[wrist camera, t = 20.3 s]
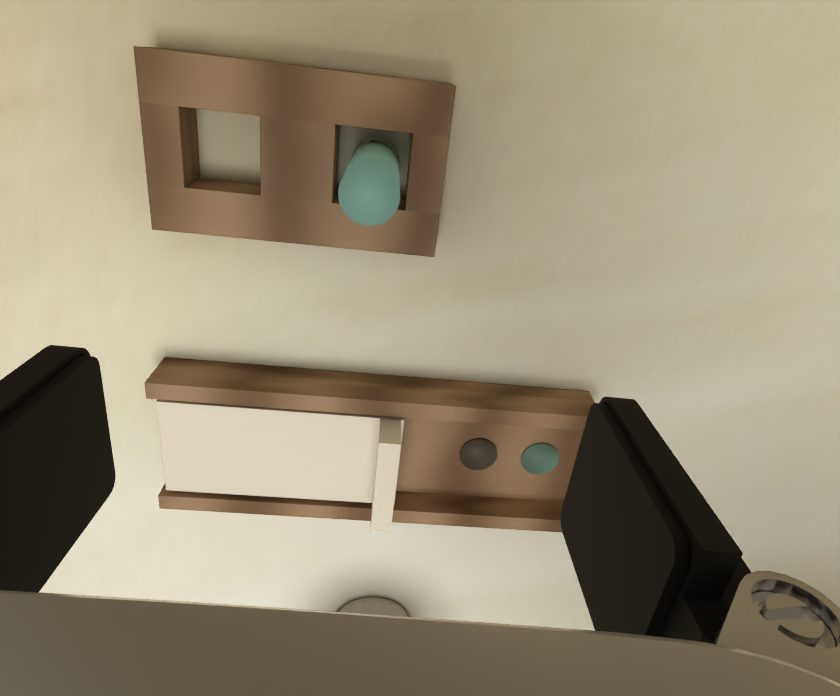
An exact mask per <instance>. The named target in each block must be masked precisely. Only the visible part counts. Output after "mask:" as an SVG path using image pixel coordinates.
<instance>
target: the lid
mask: <svg viewBox="0 0 840 696" xmlns="http://www.w3.org/2000/svg"><path fill="white" fill-rule="evenodd" d="M156 405H157V414H158V423H159V431H160V440H161V449H162V458H163V467H164V475H165V484H166V490H171V491H187V492H203V493H219V494H235V495H252V496H268V497H284V498H300V499H316V500H332V501H348V502H364V503H372V513H371V530H370V531H377V532H391V525H392V517H393V508H394V502H395V494H396V486H397V477H398V469H399V460H400V452H401V443H402V435H403V426H404V418H403V417H389V416H376V415H363V414H349V413H336V412H322V411H309V410H295V409H282V408H269V407H255V406H242V405H228V404H215V403H201V402H188V401H174V400H161V399H158V400H157V401H156Z"/></svg>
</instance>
